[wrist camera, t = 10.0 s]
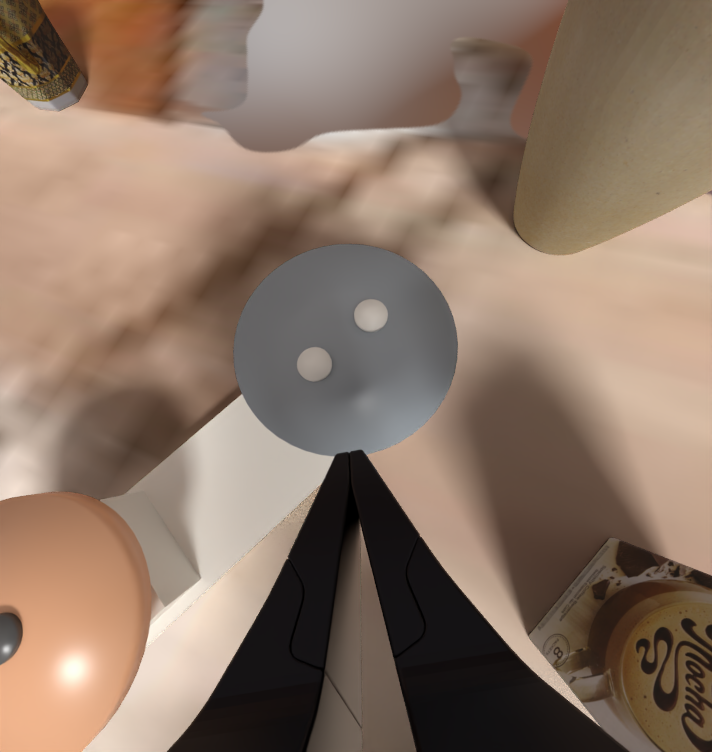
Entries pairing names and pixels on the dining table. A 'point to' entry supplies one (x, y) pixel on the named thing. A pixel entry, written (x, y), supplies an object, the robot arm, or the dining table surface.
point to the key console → (213, 505)
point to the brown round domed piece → (67, 619)
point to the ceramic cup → (37, 57)
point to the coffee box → (637, 648)
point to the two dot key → (345, 349)
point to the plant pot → (618, 122)
